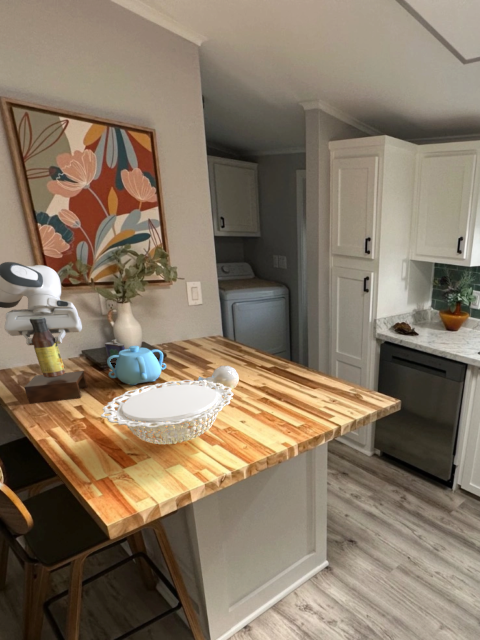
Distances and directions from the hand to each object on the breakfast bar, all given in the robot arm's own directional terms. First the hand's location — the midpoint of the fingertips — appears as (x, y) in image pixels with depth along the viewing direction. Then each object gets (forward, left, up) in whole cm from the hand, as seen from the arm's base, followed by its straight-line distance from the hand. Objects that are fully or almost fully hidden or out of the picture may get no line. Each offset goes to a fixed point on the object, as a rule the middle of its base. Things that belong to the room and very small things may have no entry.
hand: (44, 343), depth 136 cm
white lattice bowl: (+38, -50, -19) cm, 66 cm away
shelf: (0, +1, -19) cm, 19 cm away
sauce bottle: (0, +1, -12) cm, 12 cm away
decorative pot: (+24, +8, -19) cm, 31 cm away
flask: (+14, +33, -19) cm, 40 cm away
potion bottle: (+51, -15, -19) cm, 57 cm away
